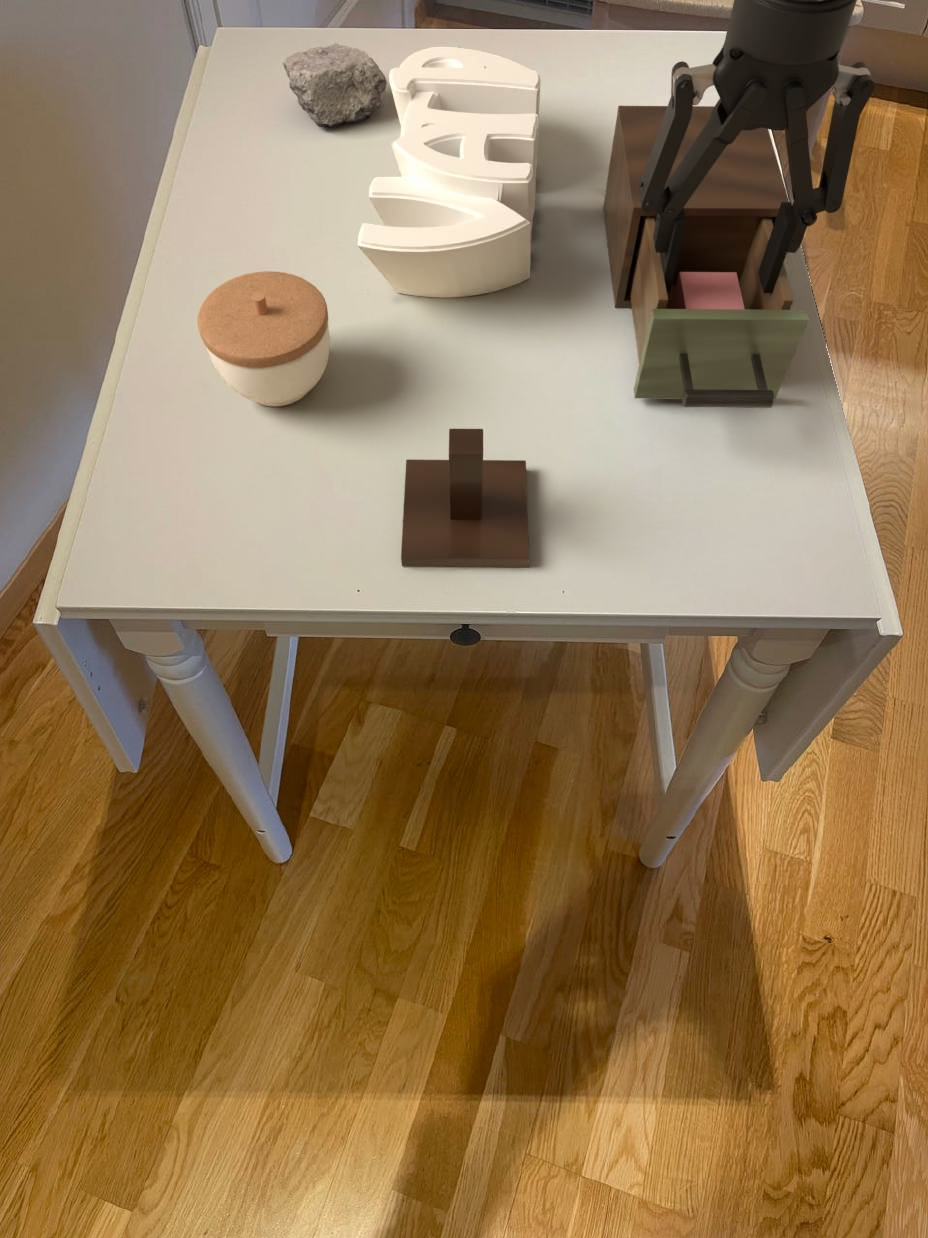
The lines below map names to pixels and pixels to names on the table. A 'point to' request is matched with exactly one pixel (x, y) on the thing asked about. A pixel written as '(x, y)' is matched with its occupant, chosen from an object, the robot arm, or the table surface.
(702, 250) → the drawer
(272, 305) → the trinket box
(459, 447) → the stand
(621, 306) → the cabinet
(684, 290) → the block
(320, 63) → the rock
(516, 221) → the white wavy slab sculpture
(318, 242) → the table surface
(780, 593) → the table surface
